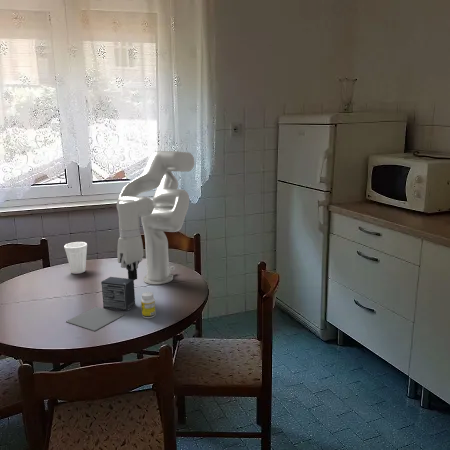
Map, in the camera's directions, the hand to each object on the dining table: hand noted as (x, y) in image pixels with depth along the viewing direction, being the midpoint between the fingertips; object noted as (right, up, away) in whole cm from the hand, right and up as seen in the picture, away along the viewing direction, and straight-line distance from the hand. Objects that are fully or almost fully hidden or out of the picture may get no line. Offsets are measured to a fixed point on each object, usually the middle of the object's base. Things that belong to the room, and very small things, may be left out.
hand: (132, 278), depth 170 cm
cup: (-32, -1, +33) cm, 46 cm away
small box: (-4, -10, -4) cm, 12 cm away
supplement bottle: (+8, -12, -13) cm, 19 cm away
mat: (-10, -12, -15) cm, 22 cm away
